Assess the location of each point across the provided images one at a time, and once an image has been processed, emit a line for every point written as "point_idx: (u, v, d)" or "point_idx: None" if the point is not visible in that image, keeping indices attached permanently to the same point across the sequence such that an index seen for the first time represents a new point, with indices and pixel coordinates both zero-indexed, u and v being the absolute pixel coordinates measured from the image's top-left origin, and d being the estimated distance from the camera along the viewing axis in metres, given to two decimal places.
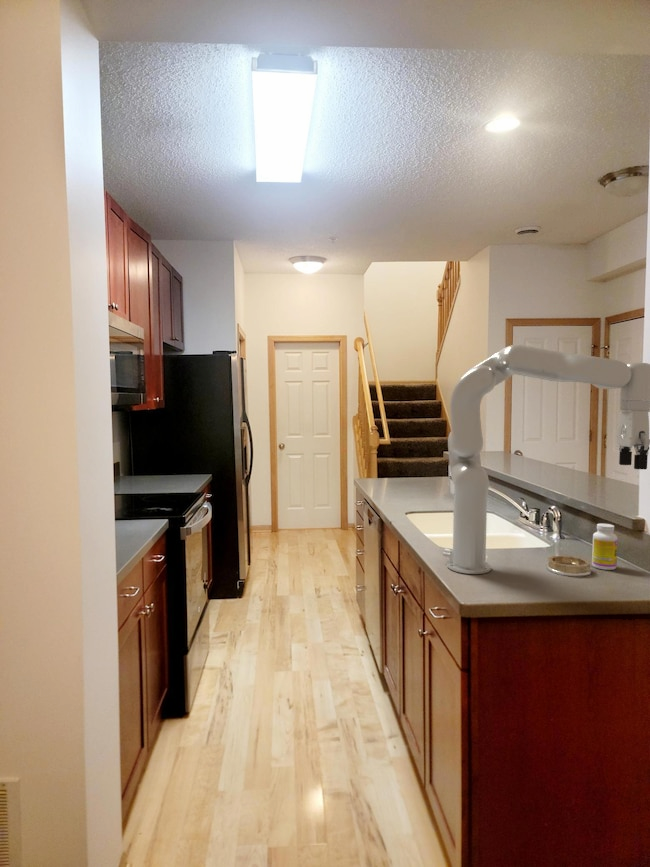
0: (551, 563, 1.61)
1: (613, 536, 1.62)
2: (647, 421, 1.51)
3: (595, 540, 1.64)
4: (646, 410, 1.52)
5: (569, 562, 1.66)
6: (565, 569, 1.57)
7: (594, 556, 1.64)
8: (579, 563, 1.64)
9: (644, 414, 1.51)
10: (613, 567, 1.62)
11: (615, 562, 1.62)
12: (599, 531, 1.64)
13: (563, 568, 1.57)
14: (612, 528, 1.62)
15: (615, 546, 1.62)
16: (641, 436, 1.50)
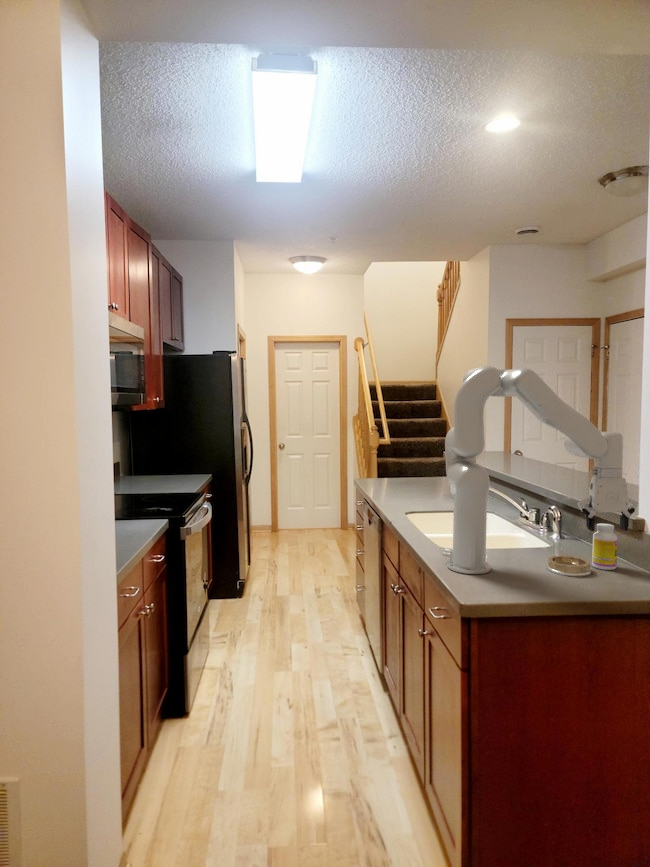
0: (551, 563, 1.61)
1: (613, 536, 1.62)
2: None
3: (595, 540, 1.64)
4: None
5: (569, 562, 1.66)
6: (565, 569, 1.57)
7: (594, 556, 1.64)
8: (579, 563, 1.64)
9: None
10: (613, 567, 1.62)
11: (615, 562, 1.62)
12: (599, 531, 1.64)
13: (563, 568, 1.57)
14: (612, 528, 1.62)
15: (615, 546, 1.62)
16: (629, 499, 1.63)
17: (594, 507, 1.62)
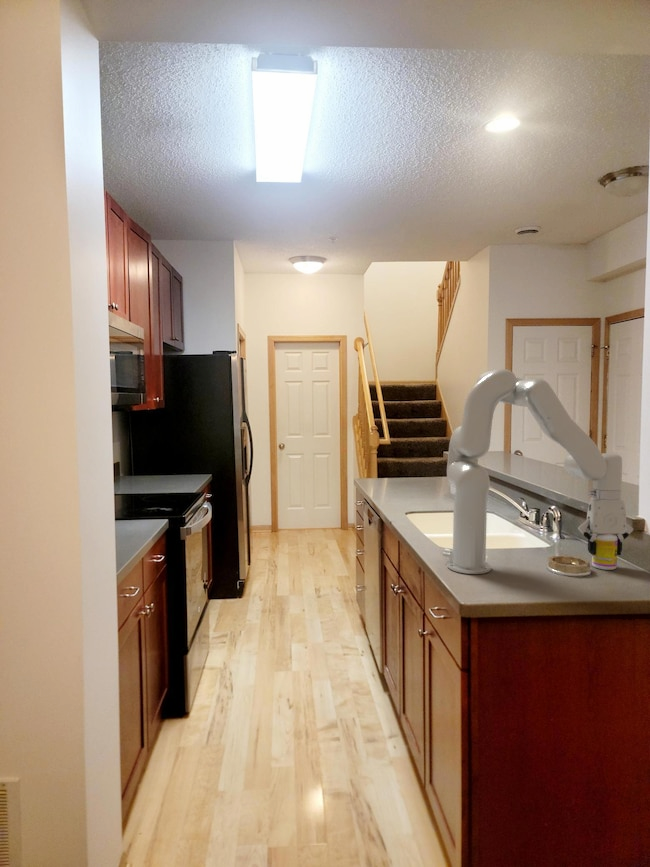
0: (551, 563, 1.61)
1: (613, 536, 1.62)
2: None
3: (595, 540, 1.64)
4: None
5: (569, 562, 1.66)
6: (565, 569, 1.57)
7: (594, 556, 1.64)
8: (579, 563, 1.64)
9: None
10: (613, 567, 1.62)
11: (615, 562, 1.62)
12: None
13: (563, 568, 1.57)
14: None
15: (615, 546, 1.62)
16: (625, 524, 1.63)
17: (592, 528, 1.62)
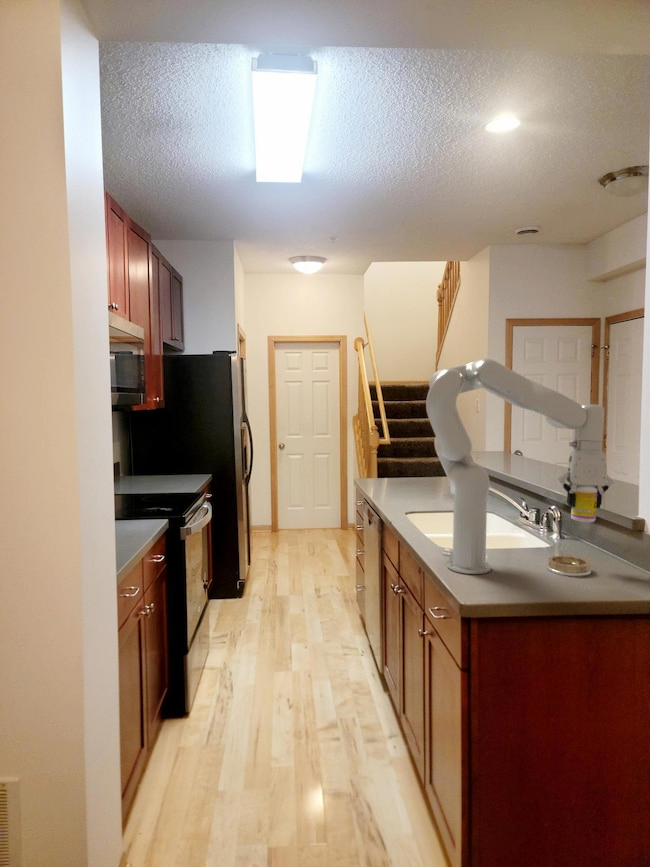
0: (551, 563, 1.61)
1: (593, 488, 1.59)
2: None
3: (575, 492, 1.61)
4: None
5: (569, 562, 1.66)
6: (565, 569, 1.57)
7: (573, 508, 1.61)
8: (579, 563, 1.64)
9: None
10: (592, 519, 1.59)
11: (594, 514, 1.59)
12: None
13: (563, 568, 1.57)
14: None
15: (595, 498, 1.59)
16: None
17: (572, 480, 1.59)
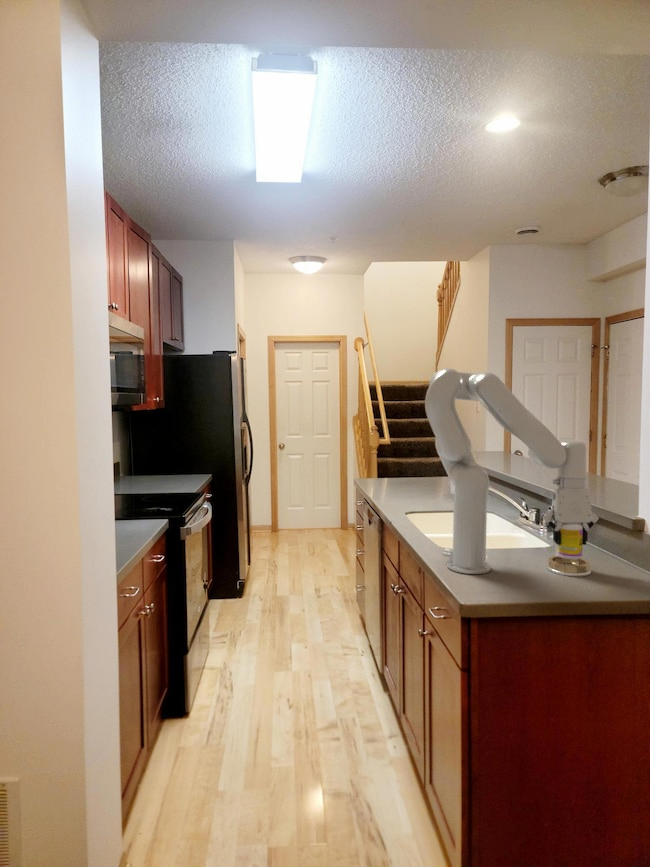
0: (551, 563, 1.61)
1: (578, 525, 1.58)
2: None
3: (560, 529, 1.60)
4: None
5: (569, 562, 1.66)
6: (565, 569, 1.57)
7: (559, 546, 1.61)
8: (579, 563, 1.64)
9: None
10: (578, 557, 1.58)
11: (580, 552, 1.59)
12: None
13: (563, 568, 1.57)
14: None
15: (580, 535, 1.58)
16: (591, 512, 1.60)
17: (556, 518, 1.59)
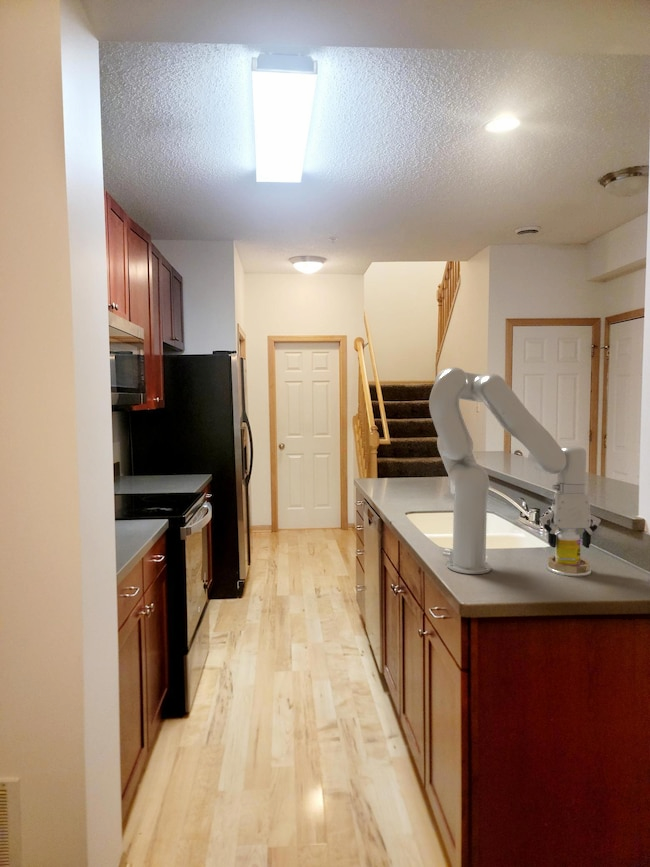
0: (551, 563, 1.61)
1: (575, 535, 1.58)
2: None
3: (557, 540, 1.60)
4: None
5: None
6: (565, 569, 1.57)
7: (557, 556, 1.61)
8: None
9: None
10: None
11: (578, 562, 1.59)
12: (561, 530, 1.61)
13: (563, 568, 1.57)
14: None
15: (578, 545, 1.58)
16: (591, 516, 1.60)
17: (556, 523, 1.59)
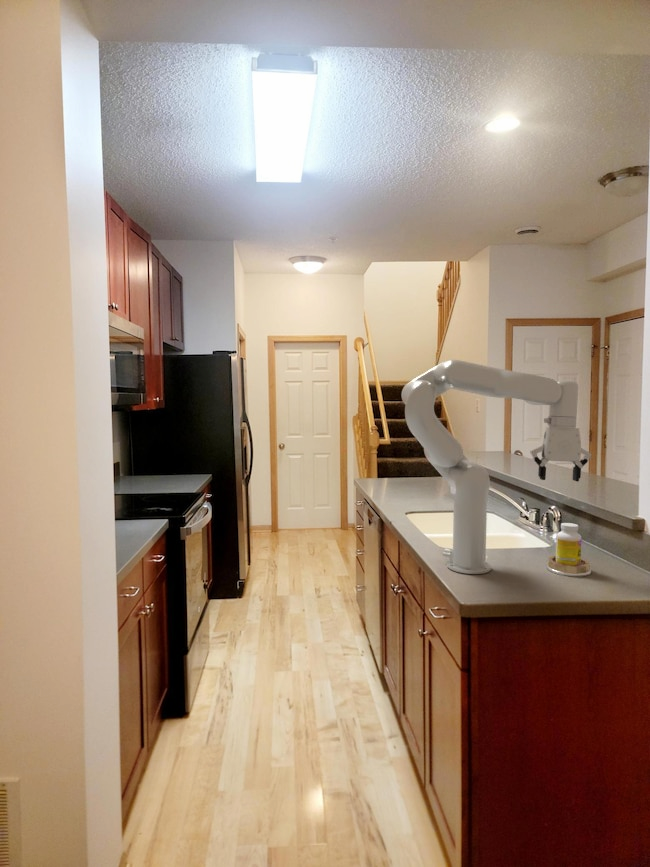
0: (551, 563, 1.61)
1: (576, 536, 1.58)
2: None
3: (558, 540, 1.60)
4: None
5: None
6: (565, 569, 1.57)
7: (557, 556, 1.61)
8: None
9: None
10: None
11: (578, 562, 1.59)
12: (563, 531, 1.60)
13: (563, 568, 1.57)
14: (576, 528, 1.59)
15: (578, 546, 1.58)
16: (582, 450, 1.62)
17: (546, 455, 1.61)
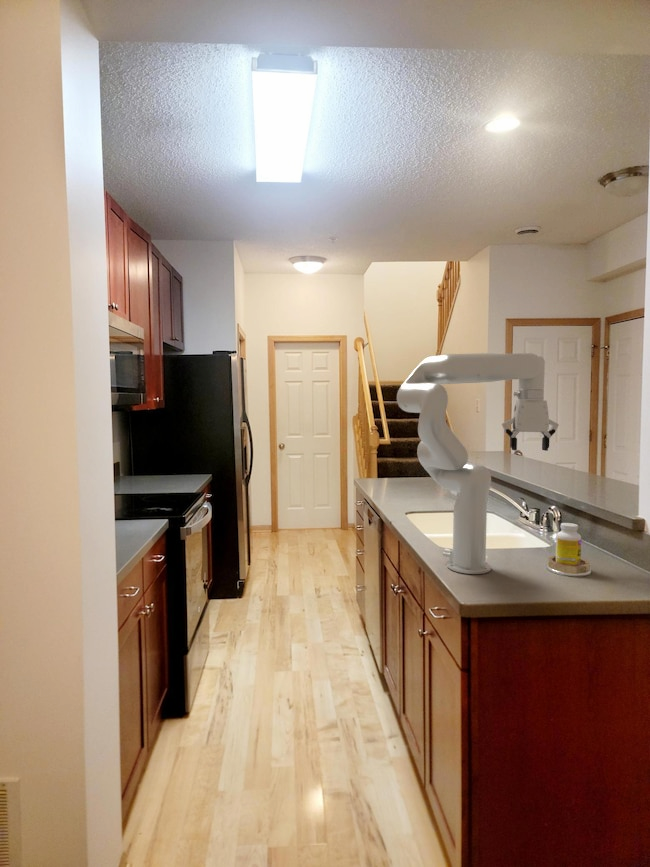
0: (551, 563, 1.61)
1: (576, 536, 1.58)
2: None
3: (558, 540, 1.60)
4: None
5: None
6: (565, 569, 1.57)
7: (557, 556, 1.61)
8: None
9: None
10: None
11: (578, 562, 1.59)
12: (562, 530, 1.61)
13: (563, 568, 1.57)
14: (575, 527, 1.59)
15: (578, 546, 1.58)
16: (550, 421, 1.72)
17: (516, 427, 1.71)
